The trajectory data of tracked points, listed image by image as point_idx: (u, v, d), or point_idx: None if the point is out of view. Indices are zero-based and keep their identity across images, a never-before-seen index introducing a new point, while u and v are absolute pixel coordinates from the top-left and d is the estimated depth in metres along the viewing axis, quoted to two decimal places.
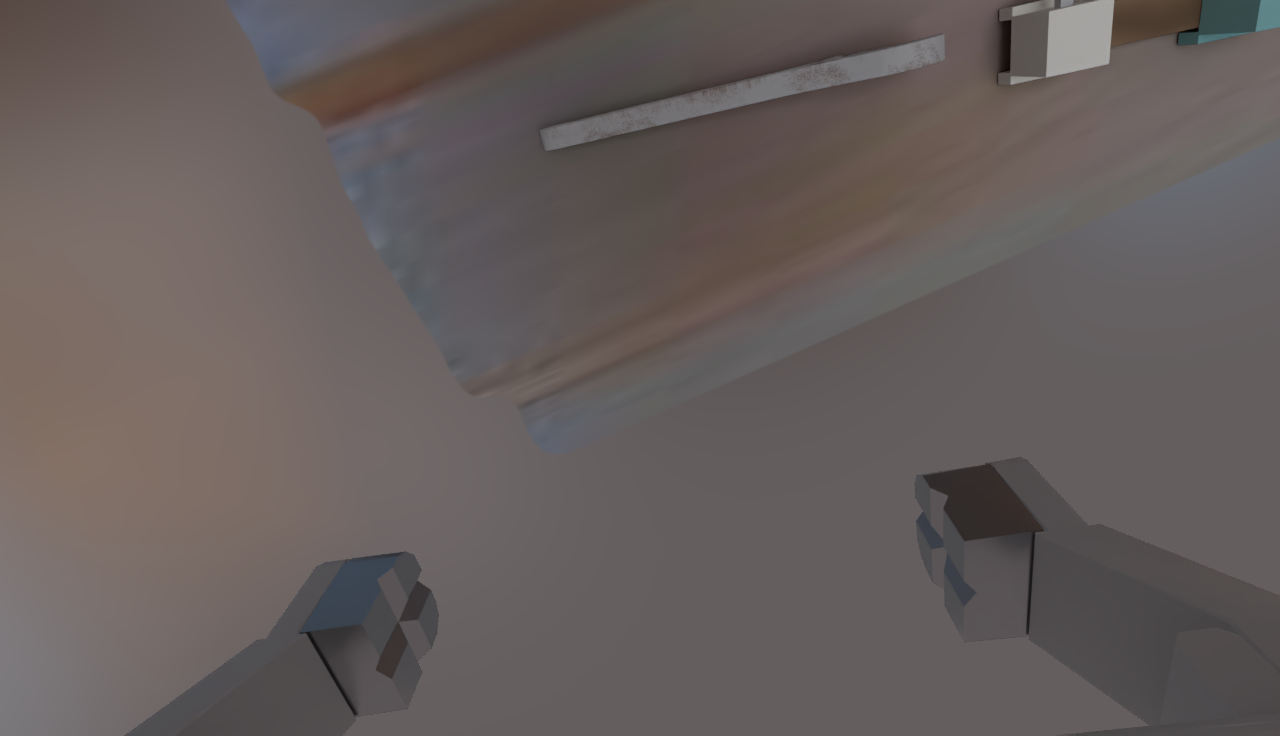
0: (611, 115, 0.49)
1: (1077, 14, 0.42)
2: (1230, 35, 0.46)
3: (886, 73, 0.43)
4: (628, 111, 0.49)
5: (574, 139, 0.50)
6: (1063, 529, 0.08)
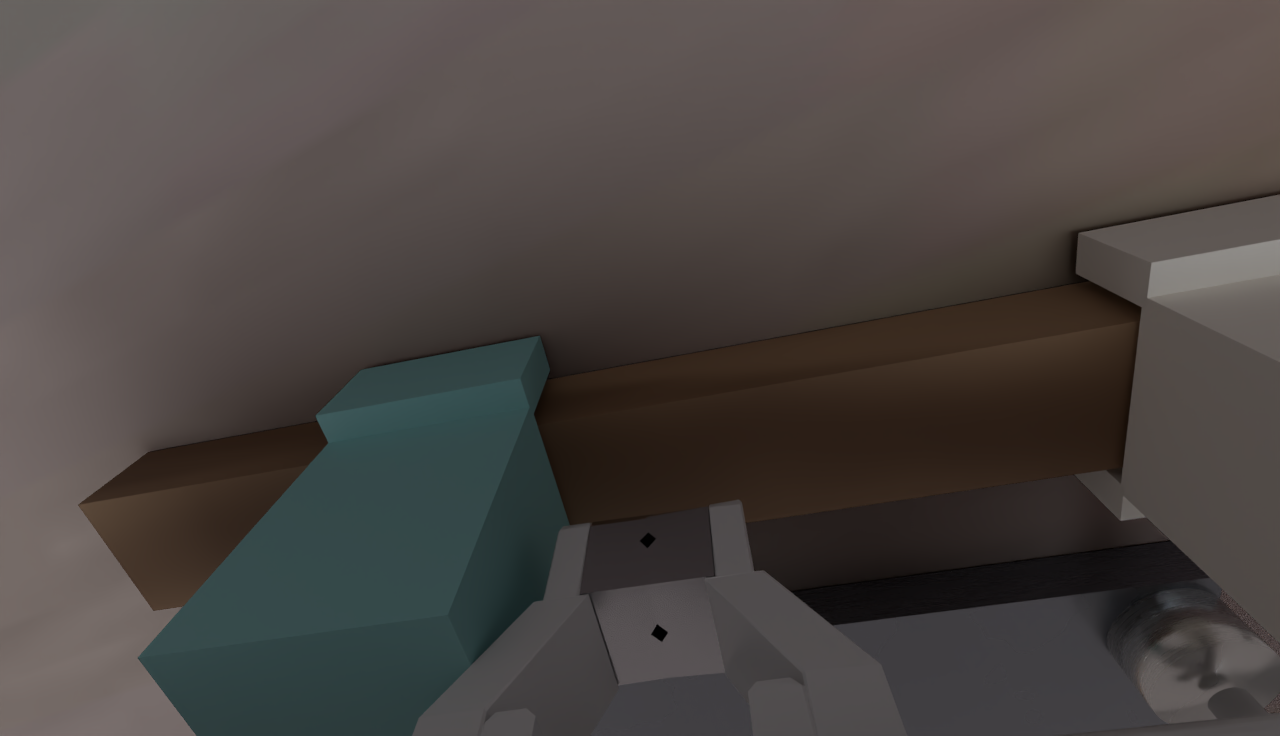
0: None
1: None
2: (408, 403, 0.12)
3: None
4: None
5: None
6: (729, 575, 0.08)
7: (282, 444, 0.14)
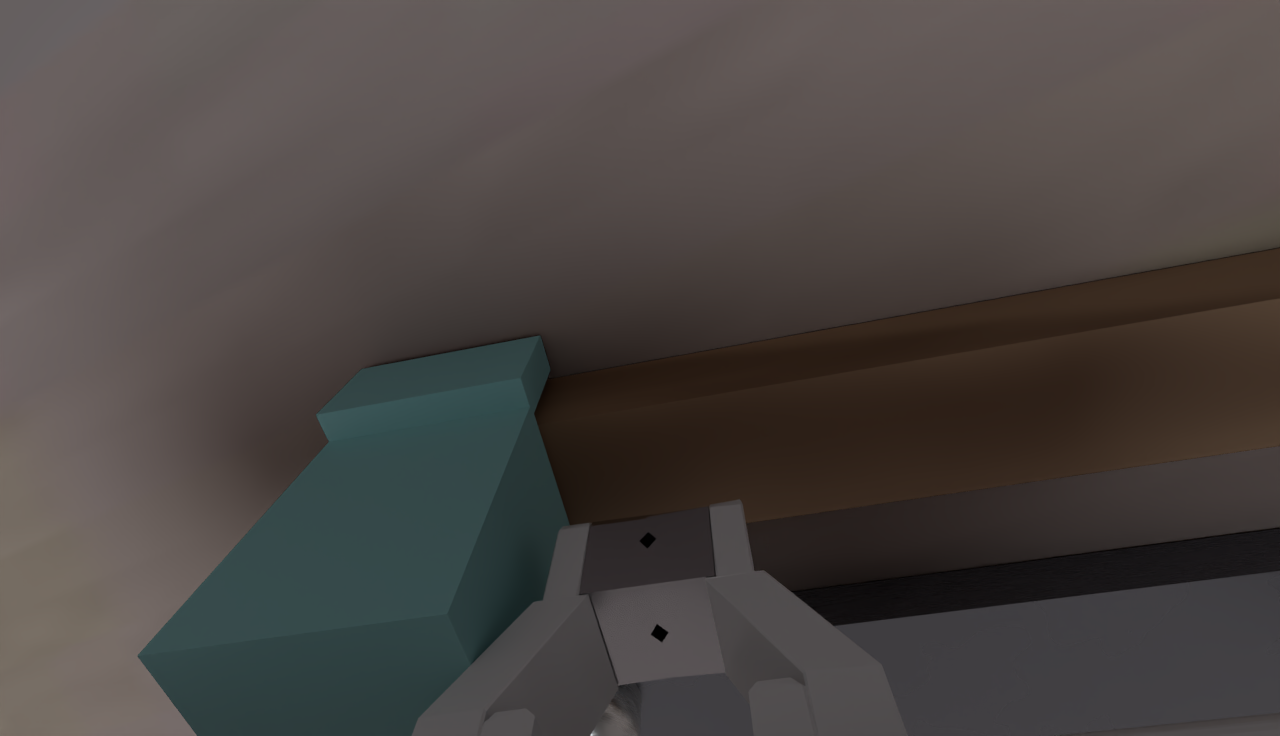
0: None
1: None
2: (408, 403, 0.12)
3: None
4: None
5: None
6: (729, 575, 0.08)
7: (563, 394, 0.13)
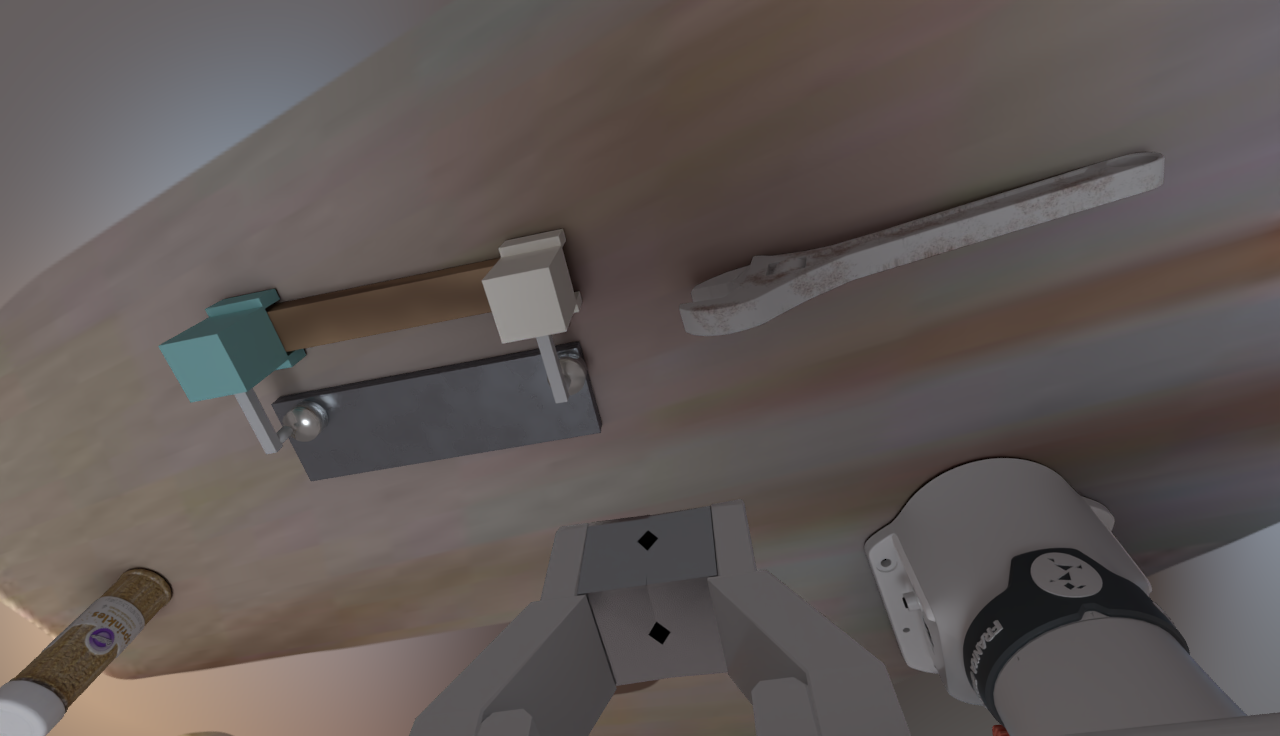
0: (1069, 212, 0.38)
1: (535, 328, 0.38)
2: (230, 305, 0.43)
3: (756, 300, 0.36)
4: (1047, 218, 0.38)
5: (1125, 177, 0.37)
6: (731, 575, 0.08)
7: (281, 305, 0.45)
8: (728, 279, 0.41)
